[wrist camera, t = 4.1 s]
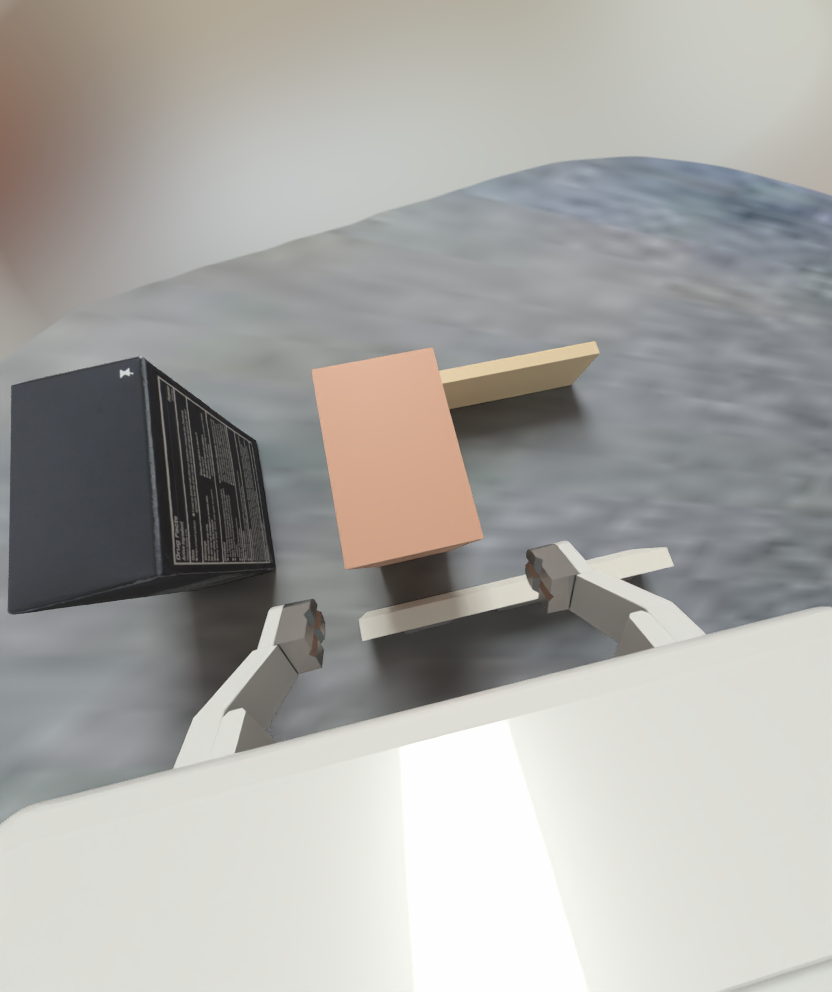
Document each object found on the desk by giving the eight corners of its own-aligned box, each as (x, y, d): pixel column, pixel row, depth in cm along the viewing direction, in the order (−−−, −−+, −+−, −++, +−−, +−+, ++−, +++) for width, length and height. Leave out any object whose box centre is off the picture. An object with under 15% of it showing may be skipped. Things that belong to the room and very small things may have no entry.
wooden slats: (370, 634, 21) (361, 650, 18) (332, 421, 25) (317, 394, 21) (639, 569, 23) (686, 570, 19) (567, 374, 26) (595, 341, 22)
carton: (379, 566, 22) (345, 569, 11) (360, 464, 24) (311, 369, 12) (449, 551, 23) (489, 537, 11) (424, 450, 24) (437, 346, 13)
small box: (174, 457, 24) (-3, 377, 14) (258, 438, 24) (147, 347, 14) (187, 594, 22) (-11, 621, 12) (278, 570, 22) (165, 576, 12)
